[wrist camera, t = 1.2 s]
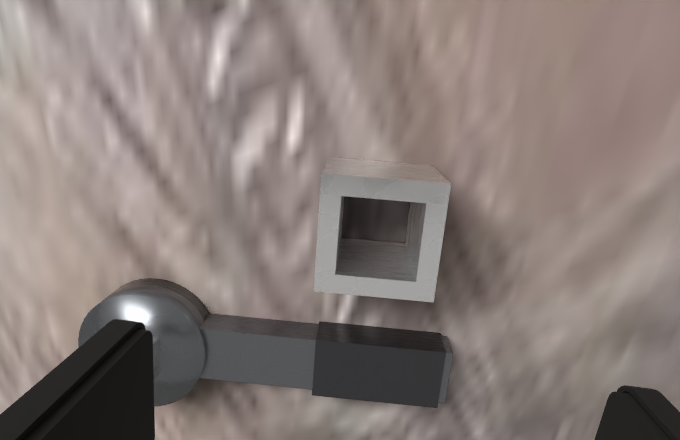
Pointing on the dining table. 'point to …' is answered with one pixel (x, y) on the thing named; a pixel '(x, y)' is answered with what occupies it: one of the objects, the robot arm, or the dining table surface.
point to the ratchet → (275, 350)
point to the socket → (381, 256)
